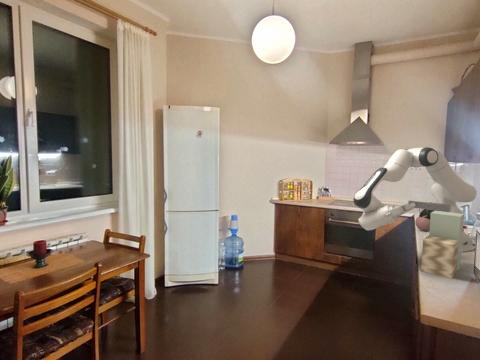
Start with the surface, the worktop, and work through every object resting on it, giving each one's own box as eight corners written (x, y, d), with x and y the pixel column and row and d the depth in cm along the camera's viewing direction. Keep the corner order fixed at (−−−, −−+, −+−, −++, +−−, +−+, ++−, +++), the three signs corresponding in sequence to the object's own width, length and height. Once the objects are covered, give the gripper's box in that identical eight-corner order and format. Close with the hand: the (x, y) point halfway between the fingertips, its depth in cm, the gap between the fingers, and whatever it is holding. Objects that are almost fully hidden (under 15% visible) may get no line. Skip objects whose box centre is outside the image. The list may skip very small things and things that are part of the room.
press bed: (420, 270, 141) (423, 239, 140) (426, 265, 148) (428, 235, 147) (451, 278, 133) (454, 245, 132) (455, 272, 140) (458, 240, 139)
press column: (427, 264, 150) (430, 212, 148) (431, 259, 157) (435, 210, 155) (456, 271, 142) (460, 216, 140) (460, 265, 149) (464, 213, 147)
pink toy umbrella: (437, 231, 220) (438, 216, 219) (429, 233, 213) (430, 217, 212) (419, 228, 229) (420, 213, 229) (411, 230, 223) (412, 214, 222)
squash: (445, 218, 242) (431, 203, 247) (443, 221, 231) (428, 206, 236) (428, 227, 250) (415, 212, 255) (426, 231, 238) (412, 216, 243)
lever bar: (451, 211, 138) (451, 204, 138) (449, 212, 135) (449, 205, 134) (410, 206, 150) (410, 200, 150) (407, 207, 146) (407, 201, 146)
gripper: (379, 210, 148) (406, 199, 139) (392, 206, 163) (418, 196, 154) (385, 222, 146) (413, 212, 137) (398, 217, 161) (425, 207, 152)
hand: (416, 203), depth 146 cm, fingers closed on lever bar, 2 cm apart
